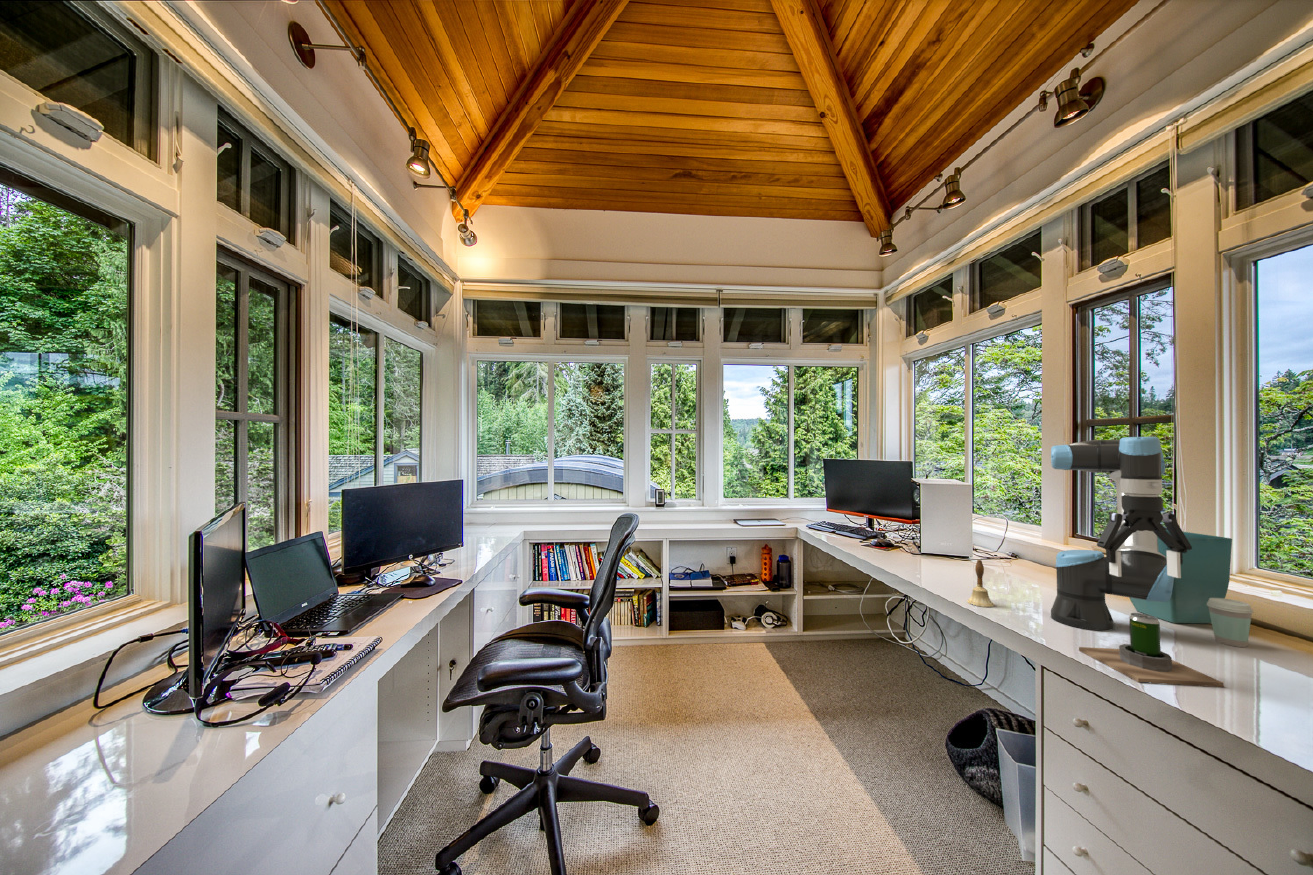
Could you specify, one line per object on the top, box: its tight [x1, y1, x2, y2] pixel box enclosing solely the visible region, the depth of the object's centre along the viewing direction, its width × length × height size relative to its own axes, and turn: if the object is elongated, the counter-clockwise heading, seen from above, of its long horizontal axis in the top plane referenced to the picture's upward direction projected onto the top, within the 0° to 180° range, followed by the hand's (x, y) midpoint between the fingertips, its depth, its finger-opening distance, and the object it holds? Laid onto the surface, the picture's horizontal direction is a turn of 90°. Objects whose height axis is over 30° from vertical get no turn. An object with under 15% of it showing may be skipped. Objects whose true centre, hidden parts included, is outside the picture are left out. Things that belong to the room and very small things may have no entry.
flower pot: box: [1117, 529, 1233, 624], centre depth 155 cm, size 20×20×28 cm
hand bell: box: [966, 559, 995, 608], centre depth 168 cm, size 8×8×16 cm
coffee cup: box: [1206, 598, 1254, 648], centre depth 133 cm, size 8×8×12 cm
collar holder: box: [1078, 643, 1225, 688], centre depth 118 cm, size 18×18×4 cm
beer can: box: [1129, 612, 1162, 658], centre depth 118 cm, size 5×5×12 cm
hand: (1144, 576), depth 120 cm, fingers open, 13 cm apart
